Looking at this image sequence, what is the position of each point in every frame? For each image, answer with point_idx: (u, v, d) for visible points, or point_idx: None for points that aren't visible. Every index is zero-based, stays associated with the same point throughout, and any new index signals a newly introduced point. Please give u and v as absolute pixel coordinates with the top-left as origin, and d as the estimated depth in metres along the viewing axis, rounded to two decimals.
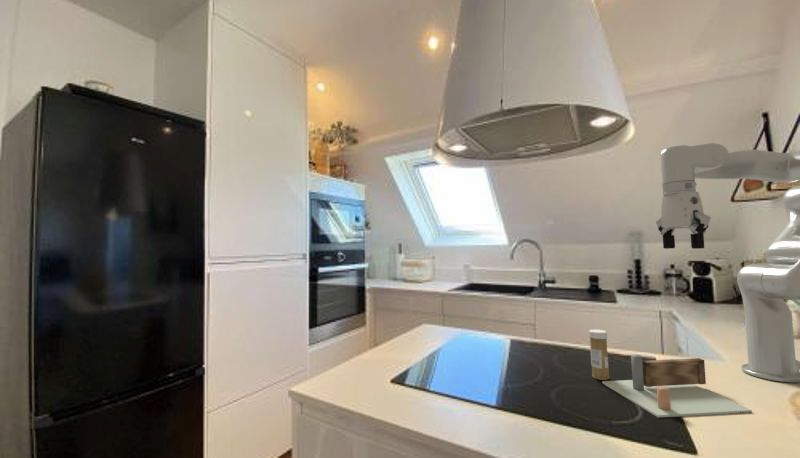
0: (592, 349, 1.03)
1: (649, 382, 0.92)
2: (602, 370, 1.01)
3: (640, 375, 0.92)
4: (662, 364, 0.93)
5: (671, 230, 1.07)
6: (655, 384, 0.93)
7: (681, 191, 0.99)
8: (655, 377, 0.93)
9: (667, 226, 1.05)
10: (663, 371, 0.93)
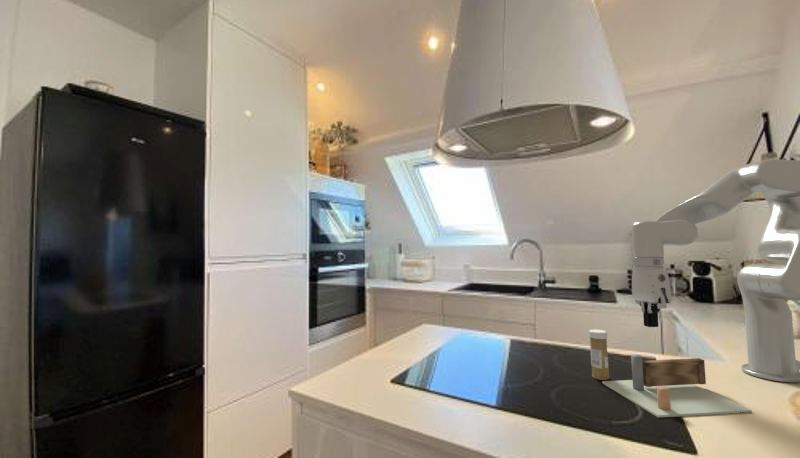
0: (592, 349, 1.03)
1: (649, 382, 0.92)
2: (602, 370, 1.01)
3: (640, 375, 0.92)
4: (662, 364, 0.93)
5: None
6: (655, 384, 0.93)
7: (649, 267, 1.01)
8: (655, 377, 0.93)
9: (637, 298, 1.06)
10: (663, 371, 0.93)
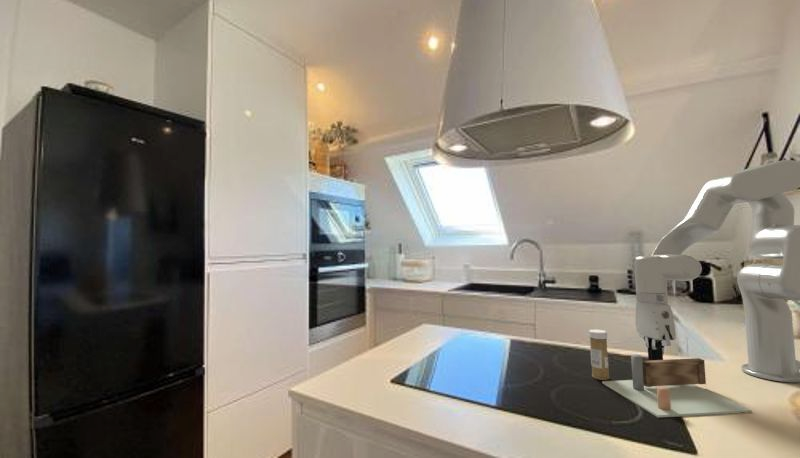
0: (592, 349, 1.03)
1: (649, 382, 0.92)
2: (602, 370, 1.01)
3: (640, 375, 0.92)
4: (662, 364, 0.93)
5: None
6: (655, 384, 0.93)
7: (653, 303, 1.00)
8: (655, 377, 0.93)
9: (641, 333, 1.05)
10: (663, 371, 0.93)
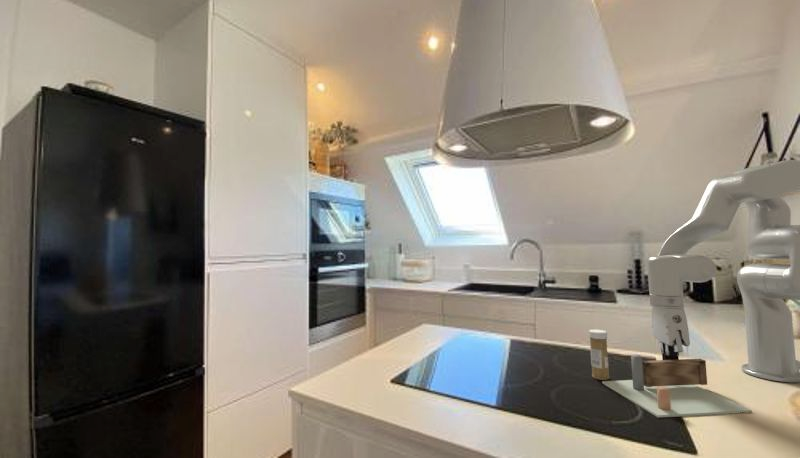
0: (592, 349, 1.03)
1: (649, 382, 0.92)
2: (602, 370, 1.01)
3: (640, 375, 0.92)
4: (662, 364, 0.93)
5: None
6: (655, 384, 0.93)
7: (664, 307, 0.95)
8: (655, 377, 0.93)
9: (656, 337, 1.00)
10: (663, 371, 0.93)
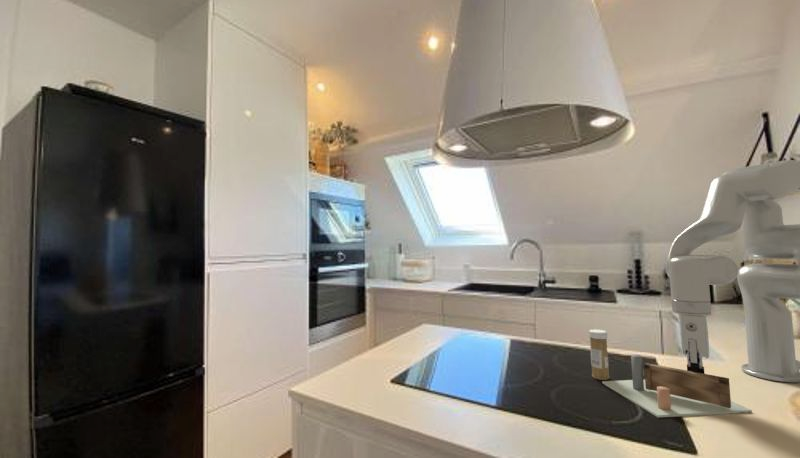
0: (592, 349, 1.03)
1: (648, 385, 0.91)
2: (602, 370, 1.01)
3: (640, 375, 0.92)
4: (665, 371, 0.88)
5: None
6: None
7: (679, 313, 0.86)
8: (657, 382, 0.89)
9: None
10: (668, 378, 0.88)
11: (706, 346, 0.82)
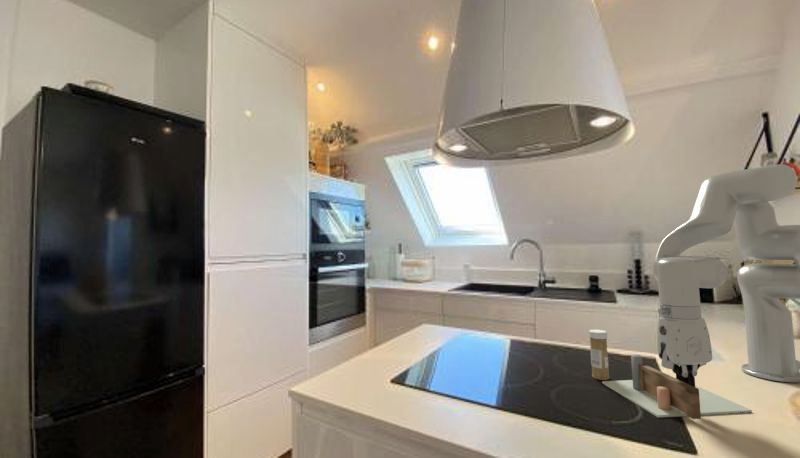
0: (592, 349, 1.03)
1: (641, 385, 0.90)
2: (602, 370, 1.01)
3: None
4: (651, 373, 0.87)
5: None
6: (648, 391, 0.89)
7: None
8: (648, 384, 0.89)
9: None
10: (654, 381, 0.86)
11: (674, 352, 0.79)
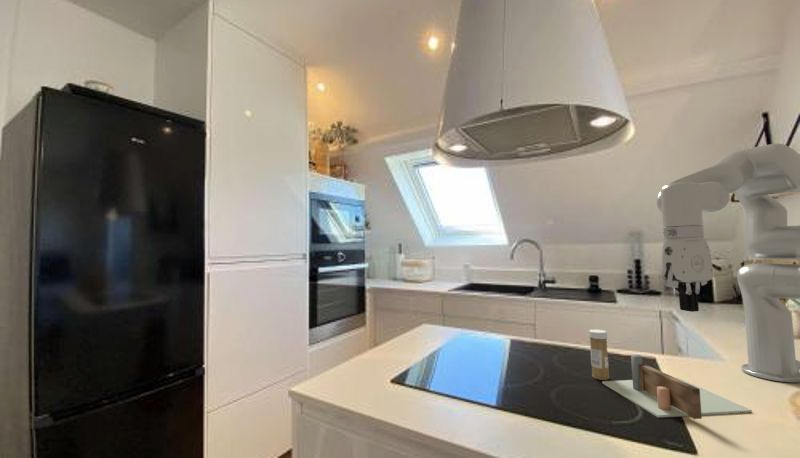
0: (592, 349, 1.03)
1: (642, 385, 0.90)
2: (602, 370, 1.01)
3: None
4: (652, 373, 0.87)
5: None
6: (648, 391, 0.89)
7: (665, 239, 0.87)
8: (648, 384, 0.89)
9: None
10: (654, 381, 0.86)
11: (680, 269, 0.82)
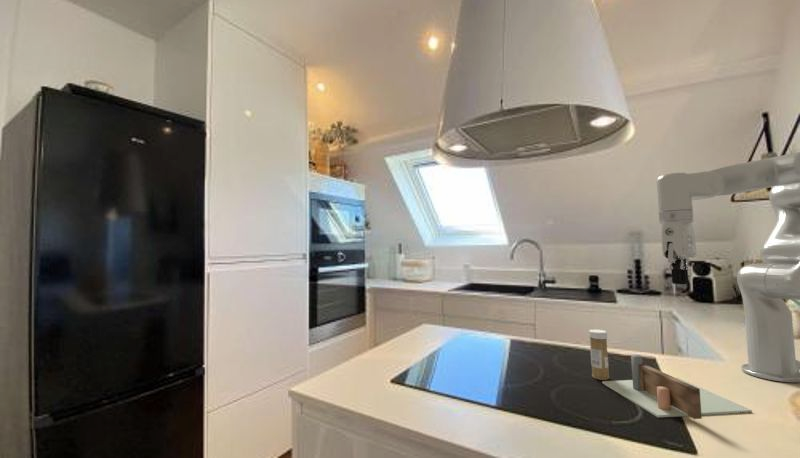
0: (592, 349, 1.03)
1: (642, 385, 0.90)
2: (602, 370, 1.01)
3: None
4: (652, 373, 0.87)
5: None
6: (648, 391, 0.89)
7: (662, 222, 0.99)
8: (648, 384, 0.89)
9: None
10: (654, 381, 0.86)
11: (681, 247, 0.94)
